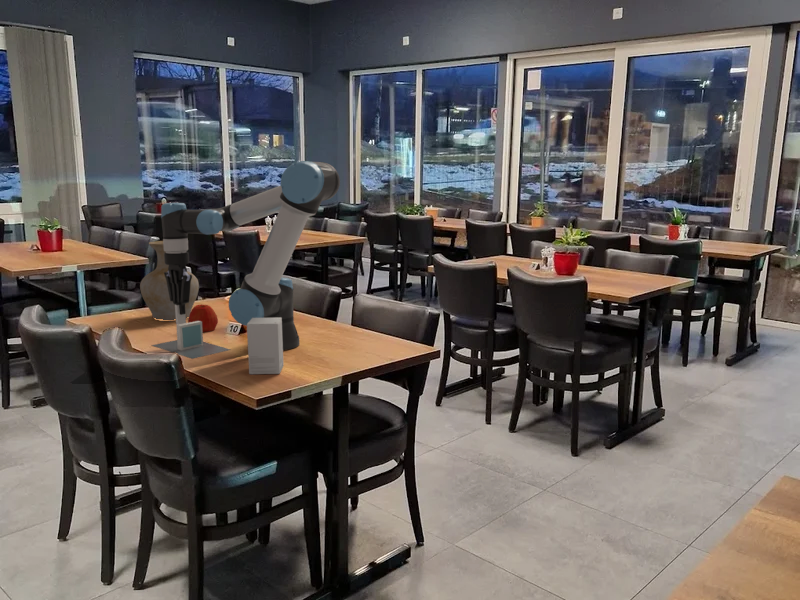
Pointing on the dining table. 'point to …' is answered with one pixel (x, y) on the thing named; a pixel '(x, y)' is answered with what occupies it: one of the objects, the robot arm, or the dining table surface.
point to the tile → (189, 335)
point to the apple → (204, 317)
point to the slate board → (192, 349)
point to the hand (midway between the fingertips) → (181, 323)
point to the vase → (163, 289)
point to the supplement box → (265, 345)
